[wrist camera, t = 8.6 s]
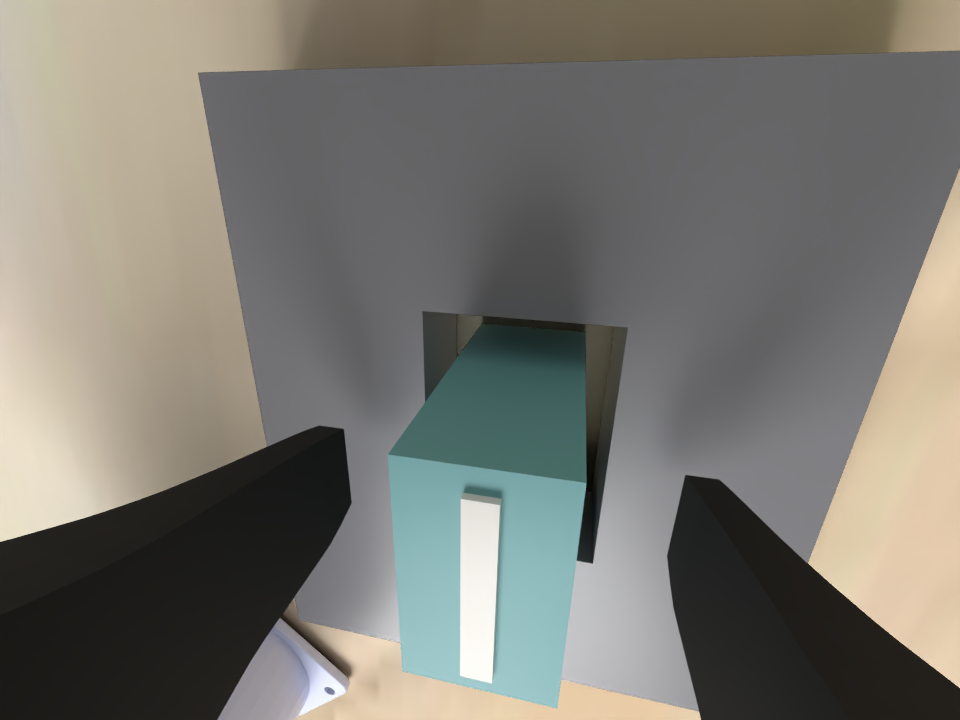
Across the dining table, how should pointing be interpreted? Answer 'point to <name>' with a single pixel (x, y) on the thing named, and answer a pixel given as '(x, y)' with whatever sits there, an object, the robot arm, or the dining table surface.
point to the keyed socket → (588, 284)
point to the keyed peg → (493, 514)
